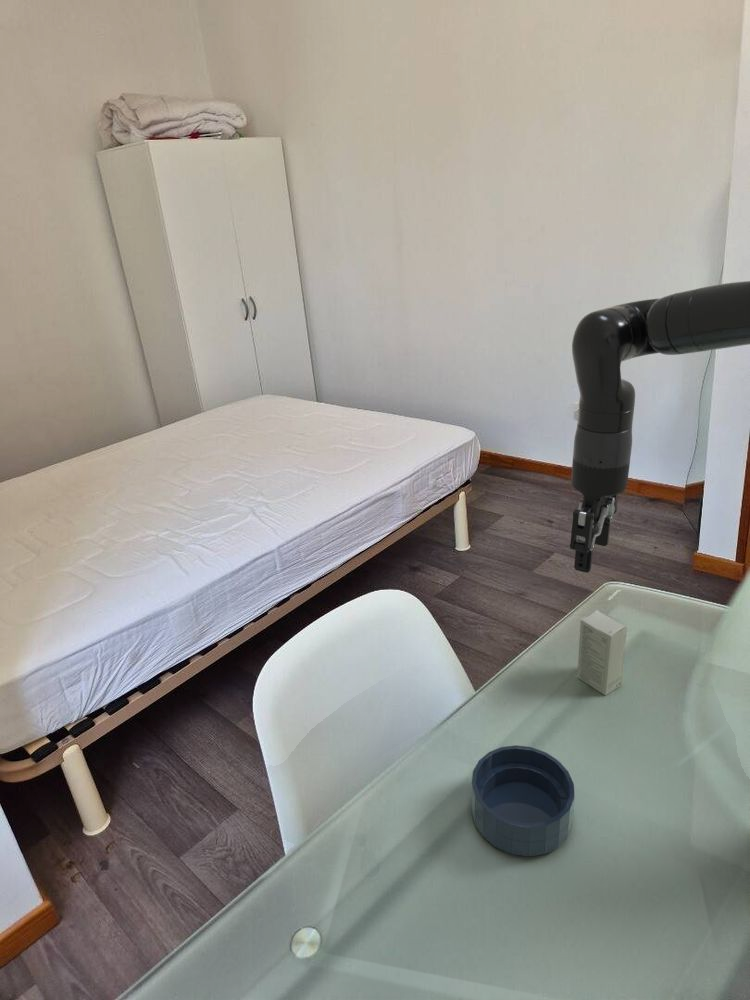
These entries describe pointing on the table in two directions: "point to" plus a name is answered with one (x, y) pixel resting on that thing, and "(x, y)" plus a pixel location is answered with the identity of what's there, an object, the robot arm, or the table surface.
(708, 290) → the robot arm
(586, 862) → the table surface
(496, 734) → the table surface
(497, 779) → the bowl
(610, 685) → the cosmetic box
